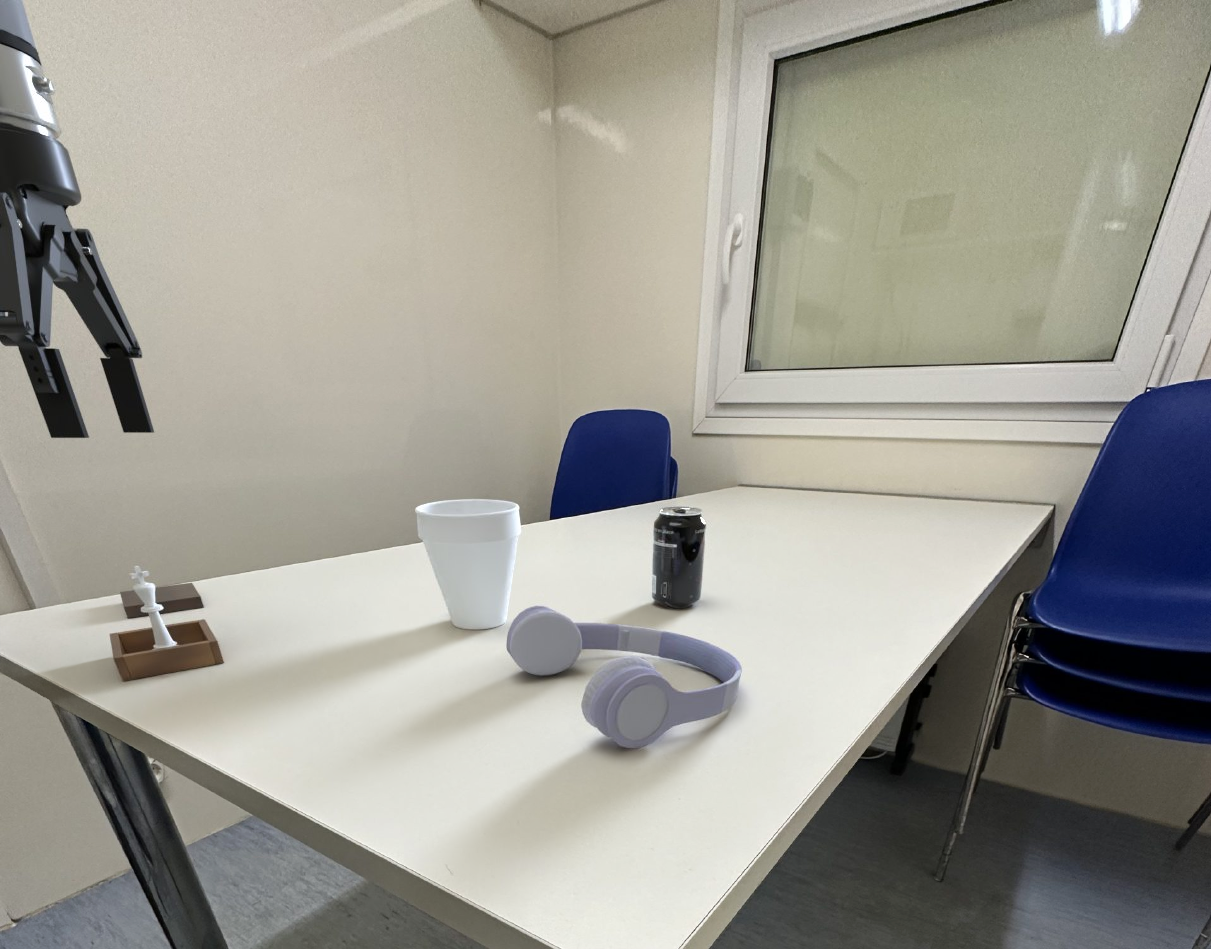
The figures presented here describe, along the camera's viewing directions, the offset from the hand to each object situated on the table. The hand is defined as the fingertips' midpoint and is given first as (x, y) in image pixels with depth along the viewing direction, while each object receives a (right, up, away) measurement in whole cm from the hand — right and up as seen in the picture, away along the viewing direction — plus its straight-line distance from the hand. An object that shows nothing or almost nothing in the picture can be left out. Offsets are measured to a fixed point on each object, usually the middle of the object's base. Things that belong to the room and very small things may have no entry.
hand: (108, 435), depth 65 cm
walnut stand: (-13, -8, +28) cm, 32 cm away
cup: (+32, -12, +22) cm, 40 cm away
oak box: (-1, -19, +10) cm, 22 cm away
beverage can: (+58, -8, +28) cm, 65 cm away
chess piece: (-1, -20, +10) cm, 22 cm away
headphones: (+51, -25, +2) cm, 57 cm away
